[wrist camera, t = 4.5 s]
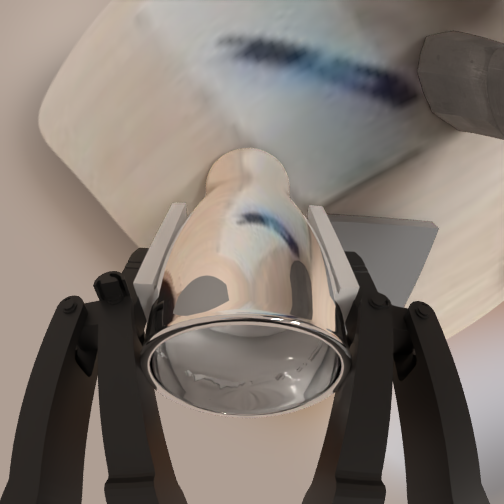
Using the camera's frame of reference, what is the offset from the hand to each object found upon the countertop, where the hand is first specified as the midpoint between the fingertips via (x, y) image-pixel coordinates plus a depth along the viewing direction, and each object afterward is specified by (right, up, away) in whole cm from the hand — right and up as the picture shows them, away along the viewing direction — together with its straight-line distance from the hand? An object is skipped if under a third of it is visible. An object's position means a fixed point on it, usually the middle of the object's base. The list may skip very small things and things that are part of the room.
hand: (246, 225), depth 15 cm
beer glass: (0, +3, +5) cm, 6 cm away
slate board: (+11, -5, +11) cm, 17 cm away
